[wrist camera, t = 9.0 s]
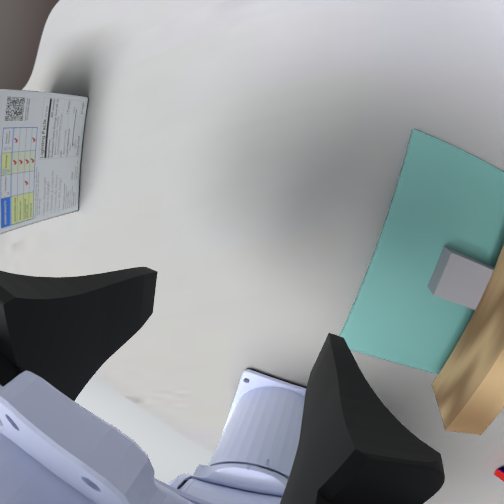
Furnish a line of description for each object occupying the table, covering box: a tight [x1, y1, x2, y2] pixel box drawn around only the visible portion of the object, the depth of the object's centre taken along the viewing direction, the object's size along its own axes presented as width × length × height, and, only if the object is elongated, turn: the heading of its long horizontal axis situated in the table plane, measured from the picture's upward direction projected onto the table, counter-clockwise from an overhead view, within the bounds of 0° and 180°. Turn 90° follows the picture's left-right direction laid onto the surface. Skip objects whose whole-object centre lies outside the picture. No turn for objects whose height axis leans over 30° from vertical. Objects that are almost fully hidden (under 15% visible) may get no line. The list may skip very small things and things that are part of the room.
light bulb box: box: [0, 89, 88, 234], centre depth 19 cm, size 11×7×11 cm, turn 171°
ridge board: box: [340, 129, 504, 374], centre depth 17 cm, size 16×20×2 cm
